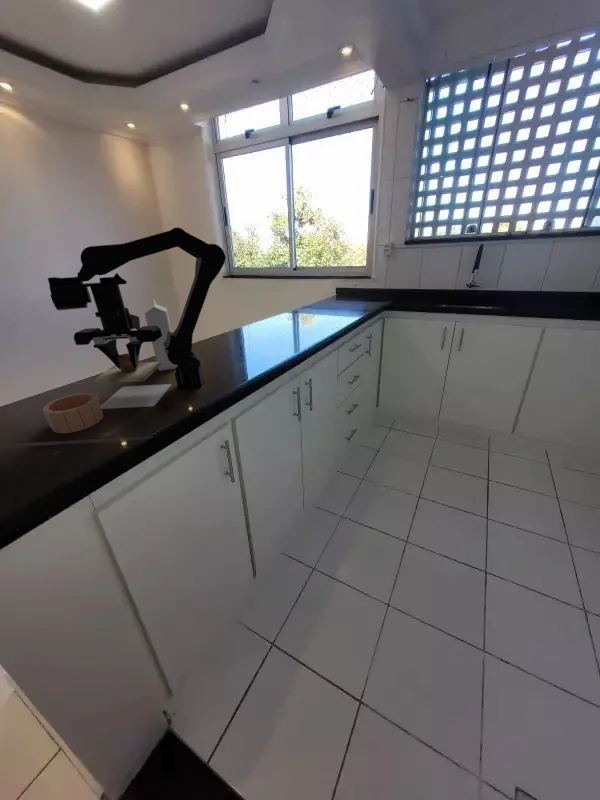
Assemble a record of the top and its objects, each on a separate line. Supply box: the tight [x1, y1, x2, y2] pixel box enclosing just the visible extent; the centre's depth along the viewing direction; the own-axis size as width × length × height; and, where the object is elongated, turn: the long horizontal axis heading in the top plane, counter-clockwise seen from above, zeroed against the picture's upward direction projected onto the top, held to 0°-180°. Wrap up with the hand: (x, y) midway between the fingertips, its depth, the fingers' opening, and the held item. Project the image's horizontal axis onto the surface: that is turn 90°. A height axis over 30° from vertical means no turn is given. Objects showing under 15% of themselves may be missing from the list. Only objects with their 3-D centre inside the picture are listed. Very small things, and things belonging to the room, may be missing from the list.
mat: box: [100, 383, 172, 410], centre depth 83 cm, size 14×14×1 cm
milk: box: [144, 299, 178, 371], centre depth 99 cm, size 6×6×22 cm
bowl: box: [42, 392, 104, 434], centre depth 70 cm, size 10×10×6 cm
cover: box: [92, 352, 162, 384], centre depth 79 cm, size 12×12×5 cm
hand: (128, 368), depth 80 cm, fingers closed on cover, 4 cm apart
